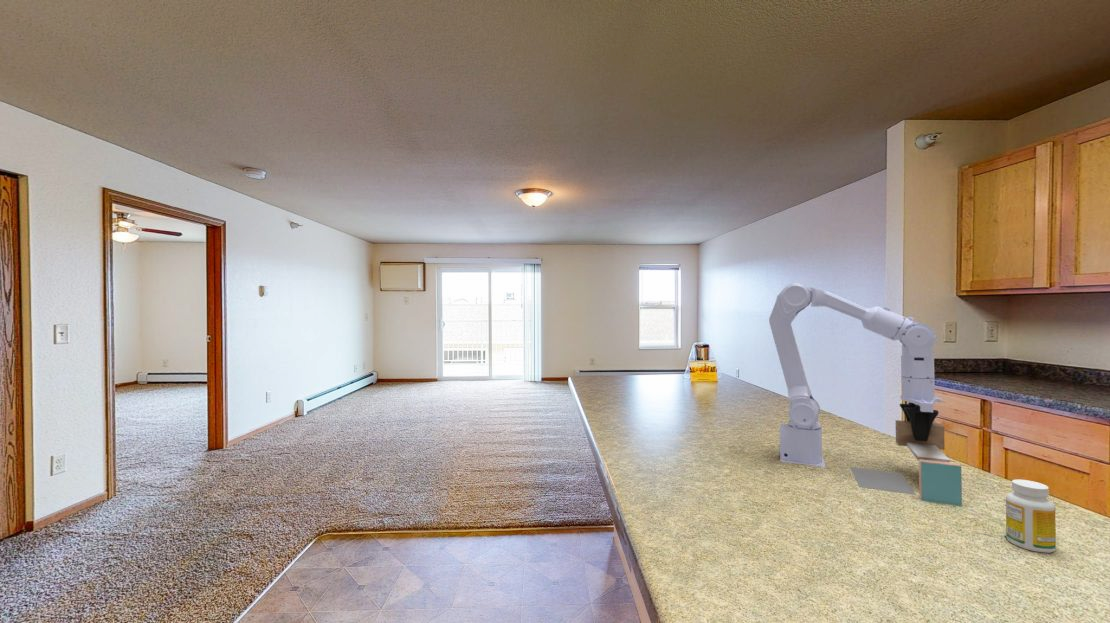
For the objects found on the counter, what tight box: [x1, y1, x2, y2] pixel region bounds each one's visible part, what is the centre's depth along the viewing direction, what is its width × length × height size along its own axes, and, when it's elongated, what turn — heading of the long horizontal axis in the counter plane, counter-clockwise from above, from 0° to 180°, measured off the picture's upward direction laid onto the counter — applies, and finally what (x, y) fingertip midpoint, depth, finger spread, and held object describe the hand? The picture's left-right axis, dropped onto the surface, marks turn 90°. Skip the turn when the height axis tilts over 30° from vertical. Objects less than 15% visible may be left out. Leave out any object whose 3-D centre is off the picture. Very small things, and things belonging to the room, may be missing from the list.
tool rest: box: [850, 466, 917, 496], centre depth 97 cm, size 10×14×1 cm
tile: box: [918, 459, 963, 507], centre depth 86 cm, size 6×2×8 cm, turn 63°
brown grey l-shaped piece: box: [895, 419, 951, 463], centre depth 95 cm, size 8×12×5 cm, turn 153°
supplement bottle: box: [1005, 478, 1057, 554], centre depth 70 cm, size 5×5×10 cm
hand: (918, 438), depth 99 cm, fingers closed on brown grey l-shaped piece, 2 cm apart
